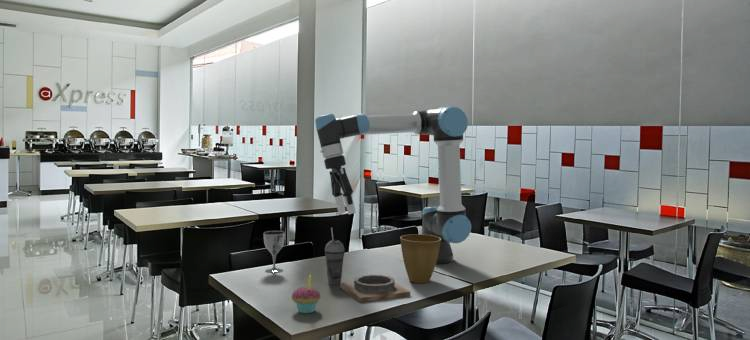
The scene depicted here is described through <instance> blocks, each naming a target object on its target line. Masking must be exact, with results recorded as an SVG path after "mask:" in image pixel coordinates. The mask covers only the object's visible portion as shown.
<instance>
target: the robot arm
mask: <svg viewBox="0 0 750 340" xmlns="http://www.w3.org/2000/svg"><path fill="white" fill-rule="evenodd" d="M314 122H315V123H314V124H315V128H316V129H315V130H316V132H317V137H318V139H319V144H320V148H321V150H320V153H322V157H323V158H324V160H323V162H324V167H325V169H326V170H330V171H329V172H328V173H329V176H330V177H329V178H330V186H331V193H332V196H333V197H334V201H335V204H336V209H337V212H338V215H340V214H345V213H346V212H347V215H352V214H355V213H356V211H357V210H356V208H355V207H356V206H355V204H354V199H353V193H354V190H353V188H352V185H351V183H350V180H349V177H348V174H347V171H346V168H345V167H343V166H346V158H345V156H344V155H343V154H344V149H343V145H342V141H341V139H345V138H350V137H354V136H356V137H357V136H363V135H364V136H366V135H368V136H369V135H382V134H383V135H385V134H404V133H406V134H407V133H413V134H414V135H426V136H433V142H434V144H436V145H437V155H438V156H437V158H438V161H437V163H438V182H439V183H438V185H439V187H438V188H439V206H426V207H423V209H422V214H421V215H422V218H421V219H422V228H421V229H422V230H421V232H422V233H421V234H423V235H432V236H437V237H439V238H441V243H440V249H439V254H438V258H437V261H436V265H437V264H449V263H452V262H454V254H453V253H454V252H453V250H452V247H451V244H460V243H462V242H464V241H466V240H467V238H468V237H469V236H470V234H471V231H472V223H471V221H470V219H469V218H468V217H467V212H466V210H467V209H466V207H465V206H464V205H463V204H462V181H461V179H462V177H461V151H460V149H461V148H460V147H461V146H460V145H461V144H462V142H463V141H464V134H465V132H466V131H467V130H468V129H467V128H468V125H469V121H468V116H467V114H466V112H464V111H463V110H462V109H461V108H460V107H457V106H453V105H452V106H450V105H447V106H442V107H441V106H440V107H435V108H429V109H425V110H419V111H416V110H415V111H413V112H412V113H406V114H380V115H379V114H377V115H366V113H358V114H353V115H347V116H346V115H345V116H339V117H337V118H336V116H335V114H333V113H329V114H324V115H323V114H322V115H320V116H317V117H316V118H315V120H314ZM341 191H342V192H341ZM345 206H346V207H345Z"/></svg>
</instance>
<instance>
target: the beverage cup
mask: <svg viewBox="0 0 750 340" xmlns="http://www.w3.org/2000/svg"><path fill="white" fill-rule="evenodd" d="M330 231H331V240H329V241H328V242H327V243H326V244H325V247H324V256H325V261H326V273H327V282H328V285H333V286H334V285H336V286H337V285H340V283H342V279H343V278H342V275H343V265H344V257H345V252H346V250H345V246H344V244H343V243H342V242H341V241H340V240H339V239H338V240H337V239H334V233H333V227H330Z"/></svg>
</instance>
